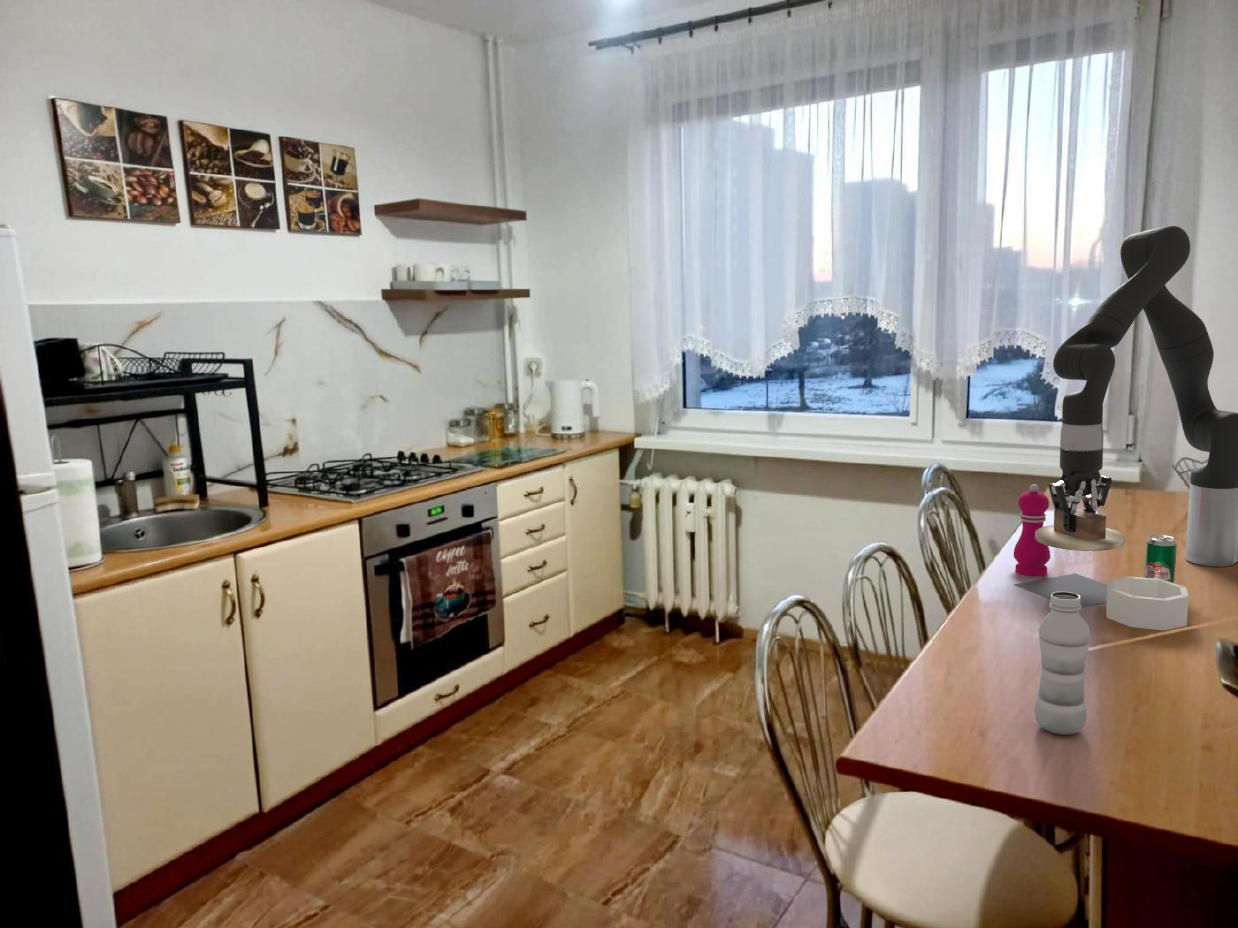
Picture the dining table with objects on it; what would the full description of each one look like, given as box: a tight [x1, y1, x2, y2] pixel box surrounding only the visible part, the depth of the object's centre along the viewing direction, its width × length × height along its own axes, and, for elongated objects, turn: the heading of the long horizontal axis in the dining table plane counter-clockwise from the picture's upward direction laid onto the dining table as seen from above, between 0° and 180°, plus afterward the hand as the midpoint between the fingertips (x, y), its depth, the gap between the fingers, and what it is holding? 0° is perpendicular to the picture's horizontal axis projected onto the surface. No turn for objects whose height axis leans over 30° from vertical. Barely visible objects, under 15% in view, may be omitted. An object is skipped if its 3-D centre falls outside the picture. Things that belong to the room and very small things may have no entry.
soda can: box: [1143, 534, 1178, 583], centre depth 172 cm, size 5×5×12 cm
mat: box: [1013, 573, 1107, 609], centre depth 178 cm, size 16×16×1 cm
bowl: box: [1105, 575, 1190, 631], centre depth 162 cm, size 13×13×6 cm
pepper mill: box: [1013, 483, 1051, 578], centre depth 189 cm, size 7×7×20 cm
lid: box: [1035, 508, 1126, 552], centre depth 175 cm, size 16×16×6 cm
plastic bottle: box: [1034, 592, 1092, 736], centre depth 123 cm, size 6×7×20 cm
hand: (1079, 529), depth 175 cm, fingers closed on lid, 4 cm apart
